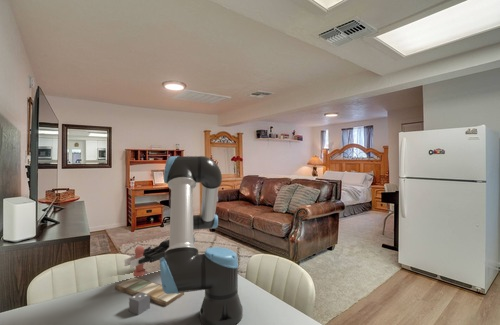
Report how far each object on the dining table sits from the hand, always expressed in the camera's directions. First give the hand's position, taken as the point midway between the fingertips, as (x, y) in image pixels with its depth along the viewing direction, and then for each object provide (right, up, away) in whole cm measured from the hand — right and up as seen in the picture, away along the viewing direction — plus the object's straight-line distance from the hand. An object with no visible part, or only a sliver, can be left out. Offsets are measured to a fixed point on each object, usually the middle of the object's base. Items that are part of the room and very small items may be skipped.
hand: (128, 263), depth 105 cm
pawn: (+3, -7, +5) cm, 9 cm away
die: (+10, -12, -12) cm, 20 cm away
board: (+8, -13, +2) cm, 15 cm away
